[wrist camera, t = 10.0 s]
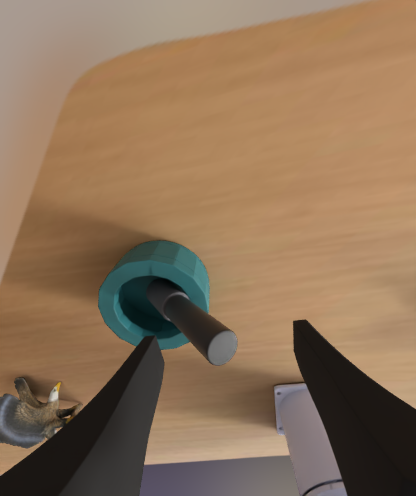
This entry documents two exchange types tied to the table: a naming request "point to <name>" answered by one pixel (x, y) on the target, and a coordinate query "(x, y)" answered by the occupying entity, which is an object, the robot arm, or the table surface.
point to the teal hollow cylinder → (135, 285)
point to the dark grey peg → (193, 322)
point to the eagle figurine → (31, 416)
